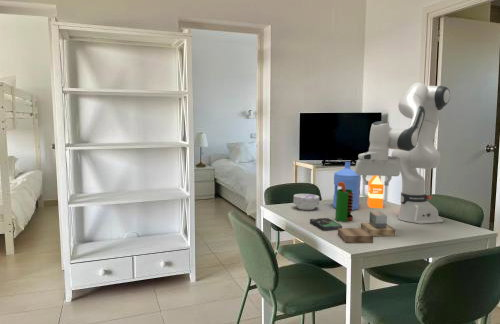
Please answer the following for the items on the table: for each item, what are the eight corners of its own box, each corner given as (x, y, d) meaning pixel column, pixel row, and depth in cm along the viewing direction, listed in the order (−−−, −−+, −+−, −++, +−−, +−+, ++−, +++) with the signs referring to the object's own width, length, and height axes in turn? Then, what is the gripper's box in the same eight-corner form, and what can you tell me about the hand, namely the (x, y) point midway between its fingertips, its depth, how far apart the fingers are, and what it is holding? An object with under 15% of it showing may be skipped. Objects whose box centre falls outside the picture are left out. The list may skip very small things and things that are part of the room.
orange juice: (379, 205, 237) (381, 173, 235) (382, 208, 229) (384, 175, 226) (367, 204, 238) (368, 173, 236) (369, 207, 230) (370, 175, 228)
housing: (379, 223, 183) (380, 211, 182) (386, 228, 175) (387, 215, 174) (369, 223, 182) (369, 211, 182) (375, 228, 174) (376, 215, 174)
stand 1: (363, 234, 175) (363, 228, 175) (372, 242, 163) (373, 235, 163) (337, 234, 175) (337, 228, 174) (345, 242, 163) (345, 236, 162)
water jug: (357, 205, 236) (359, 160, 233) (361, 211, 221) (363, 163, 218) (332, 204, 238) (333, 160, 235) (333, 210, 223) (335, 162, 220)
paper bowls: (318, 206, 233) (318, 193, 232) (319, 212, 218) (320, 198, 217) (293, 205, 234) (293, 192, 234) (293, 211, 219) (293, 197, 218)
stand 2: (384, 228, 185) (384, 222, 185) (395, 236, 173) (395, 229, 173) (360, 228, 184) (360, 222, 184) (369, 236, 173) (370, 229, 172)
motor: (353, 222, 195) (354, 184, 193) (335, 221, 197) (336, 183, 195) (351, 217, 205) (353, 181, 203) (335, 216, 207) (336, 180, 205)
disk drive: (309, 224, 194) (323, 232, 180) (309, 218, 194) (323, 226, 180) (327, 222, 197) (342, 230, 183) (327, 217, 197) (342, 224, 183)
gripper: (398, 156, 180) (396, 184, 181) (354, 154, 180) (353, 183, 182) (403, 157, 174) (401, 186, 175) (358, 155, 174) (356, 185, 176)
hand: (376, 185), depth 178 cm, fingers open, 8 cm apart
